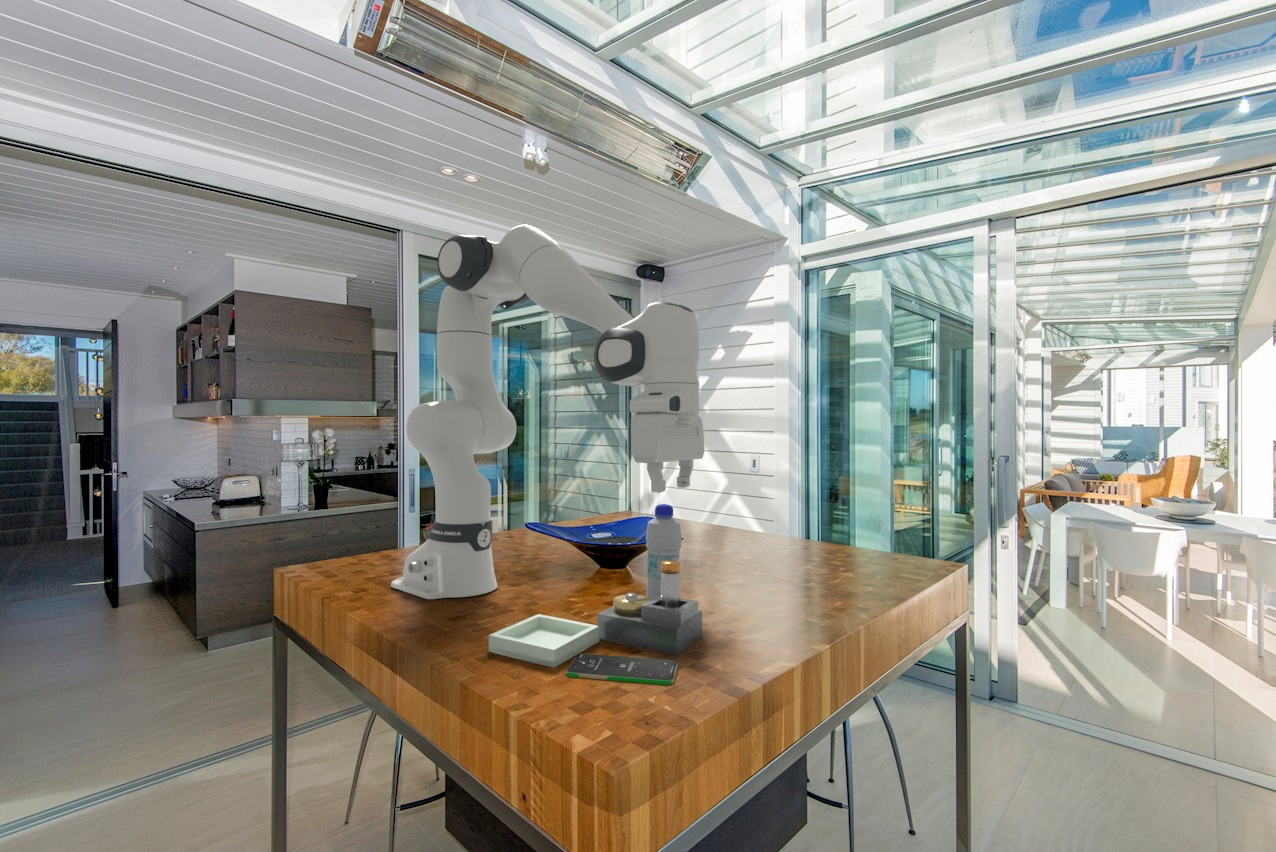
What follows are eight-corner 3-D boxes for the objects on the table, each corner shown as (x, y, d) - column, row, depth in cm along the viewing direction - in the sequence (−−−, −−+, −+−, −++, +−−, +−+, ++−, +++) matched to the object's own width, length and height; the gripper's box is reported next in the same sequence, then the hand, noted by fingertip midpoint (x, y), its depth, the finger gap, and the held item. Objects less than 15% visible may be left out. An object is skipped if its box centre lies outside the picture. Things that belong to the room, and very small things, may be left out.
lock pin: (657, 616, 95) (658, 563, 95) (665, 611, 97) (666, 559, 97) (674, 619, 93) (675, 565, 93) (682, 614, 96) (683, 561, 96)
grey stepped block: (596, 638, 96) (597, 598, 96) (627, 621, 105) (627, 585, 105) (676, 655, 89) (677, 612, 89) (701, 635, 98) (702, 596, 98)
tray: (488, 651, 90) (488, 635, 90) (538, 628, 100) (538, 614, 100) (553, 667, 84) (554, 649, 84) (598, 641, 94) (599, 625, 95)
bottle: (678, 619, 106) (679, 506, 106) (641, 616, 108) (642, 505, 108) (683, 608, 113) (684, 502, 113) (648, 605, 114) (649, 501, 114)
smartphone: (673, 681, 79) (563, 672, 81) (673, 688, 79) (563, 679, 81) (678, 659, 86) (577, 651, 89) (678, 666, 86) (577, 658, 89)
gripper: (680, 406, 106) (680, 484, 106) (623, 400, 88) (623, 494, 88) (713, 405, 104) (713, 485, 103) (661, 399, 85) (661, 496, 85)
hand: (671, 489), depth 96 cm, fingers open, 8 cm apart
